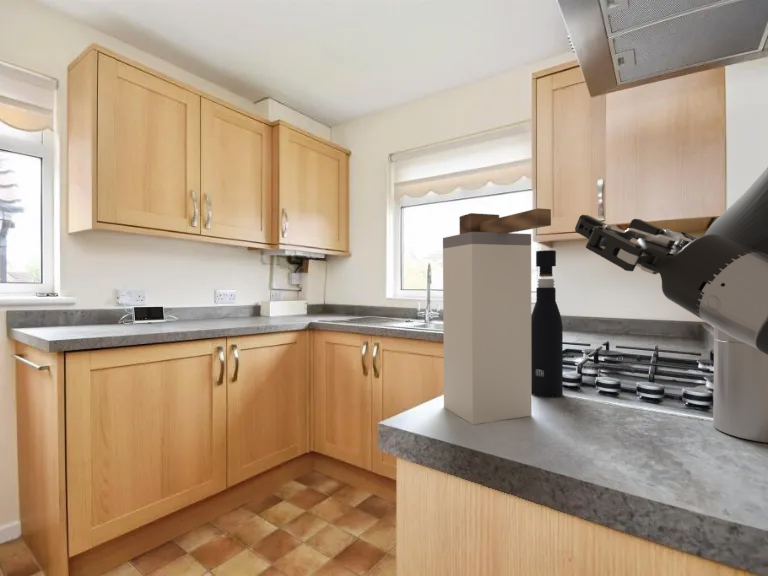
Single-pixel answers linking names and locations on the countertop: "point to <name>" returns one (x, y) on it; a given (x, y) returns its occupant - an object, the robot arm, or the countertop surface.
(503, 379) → the stand
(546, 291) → the black bottle
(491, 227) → the mallet
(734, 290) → the robot arm
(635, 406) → the countertop surface
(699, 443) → the countertop surface
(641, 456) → the countertop surface
